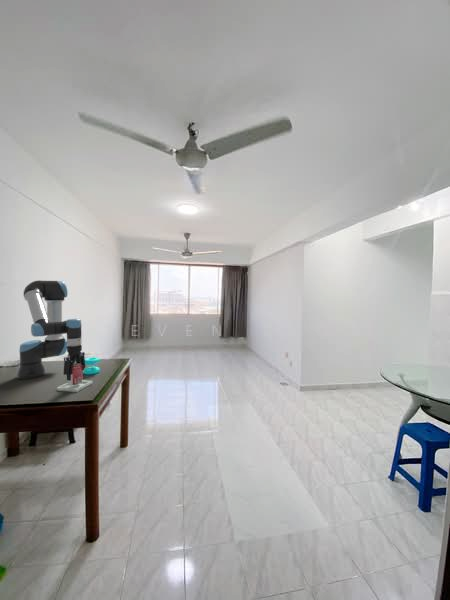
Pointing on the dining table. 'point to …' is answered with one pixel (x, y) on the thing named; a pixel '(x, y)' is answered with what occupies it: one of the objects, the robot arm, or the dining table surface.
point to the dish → (74, 386)
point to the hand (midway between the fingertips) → (75, 382)
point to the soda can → (77, 373)
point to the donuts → (91, 369)
